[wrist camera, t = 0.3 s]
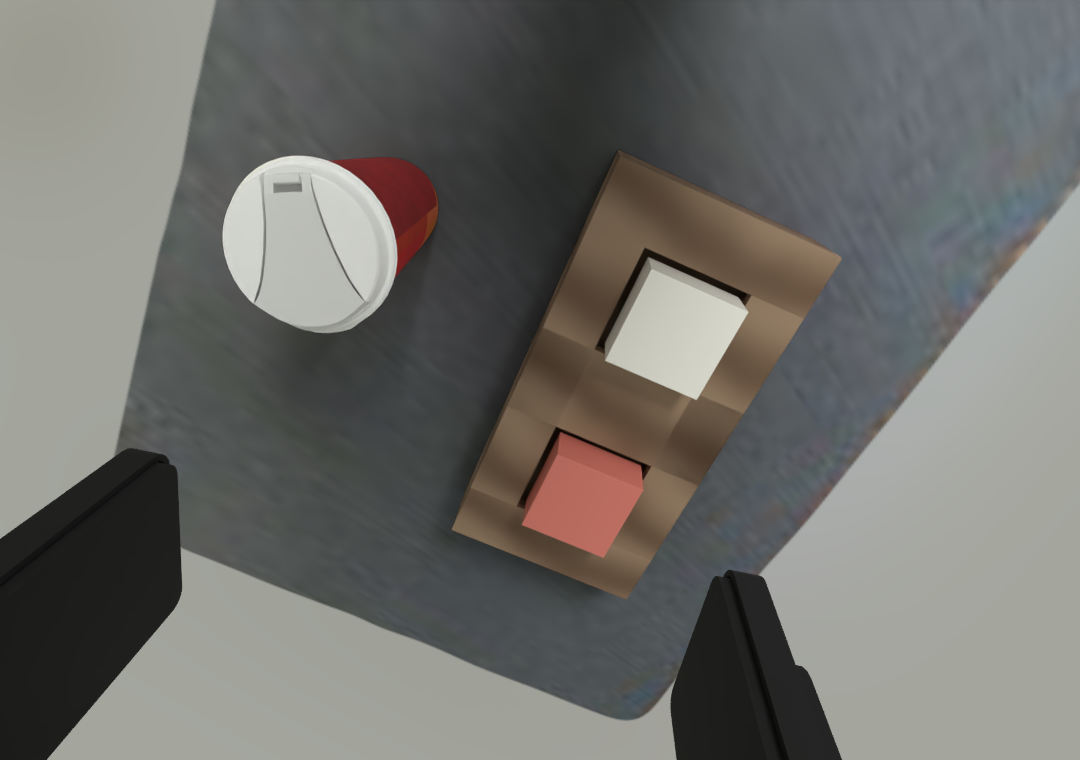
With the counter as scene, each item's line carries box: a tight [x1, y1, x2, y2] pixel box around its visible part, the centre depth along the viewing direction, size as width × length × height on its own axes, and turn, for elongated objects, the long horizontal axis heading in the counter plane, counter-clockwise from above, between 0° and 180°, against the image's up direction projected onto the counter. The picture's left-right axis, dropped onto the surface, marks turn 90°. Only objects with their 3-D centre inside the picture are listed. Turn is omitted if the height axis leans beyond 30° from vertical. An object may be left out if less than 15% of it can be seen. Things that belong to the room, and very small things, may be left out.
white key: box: [605, 257, 748, 400], centre depth 39 cm, size 6×6×3 cm
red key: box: [522, 432, 644, 558], centre depth 44 cm, size 6×6×3 cm
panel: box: [452, 150, 842, 599], centre depth 44 cm, size 28×14×5 cm, turn 157°
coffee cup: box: [223, 156, 438, 333], centre depth 36 cm, size 8×8×15 cm
